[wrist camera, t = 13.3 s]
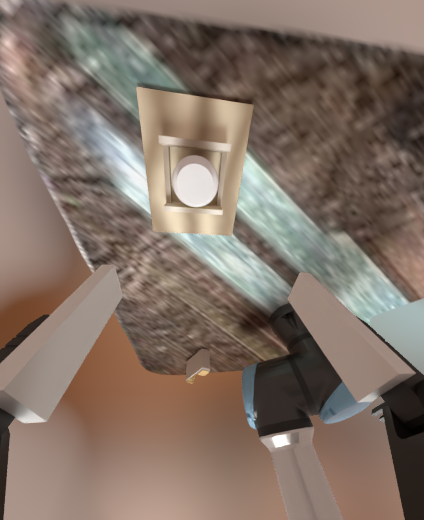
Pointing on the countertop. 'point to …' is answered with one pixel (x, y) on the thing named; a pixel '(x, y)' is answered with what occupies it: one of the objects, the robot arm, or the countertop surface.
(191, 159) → the supplement bottle
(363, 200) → the countertop surface
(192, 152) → the bottle dock
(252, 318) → the countertop surface
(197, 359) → the model
